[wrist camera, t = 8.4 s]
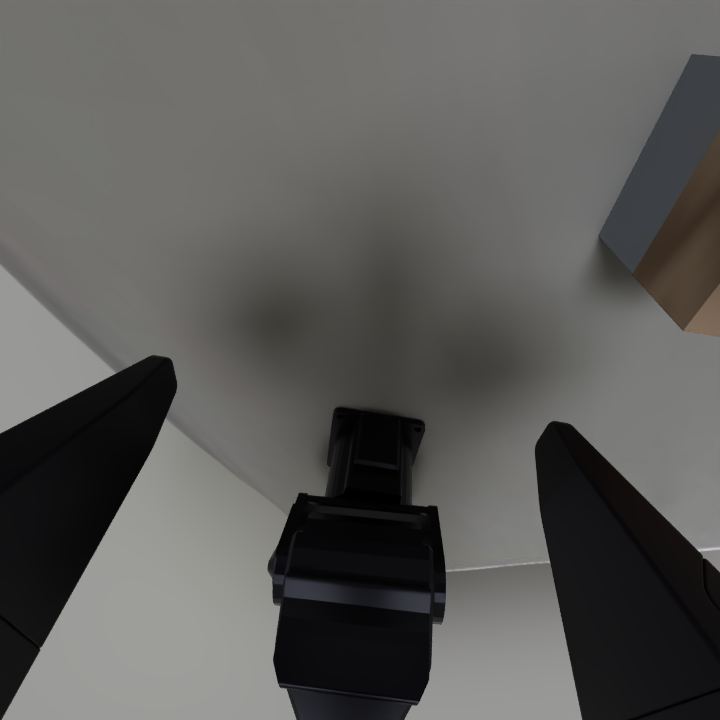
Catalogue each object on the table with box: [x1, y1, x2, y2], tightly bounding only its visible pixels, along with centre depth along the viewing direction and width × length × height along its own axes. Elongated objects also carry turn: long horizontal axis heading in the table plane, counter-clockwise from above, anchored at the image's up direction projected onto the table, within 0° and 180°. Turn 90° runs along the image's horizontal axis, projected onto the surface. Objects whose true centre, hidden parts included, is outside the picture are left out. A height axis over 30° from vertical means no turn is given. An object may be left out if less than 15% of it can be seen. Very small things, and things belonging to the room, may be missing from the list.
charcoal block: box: [599, 54, 720, 273], centre depth 16 cm, size 7×4×4 cm, turn 173°
